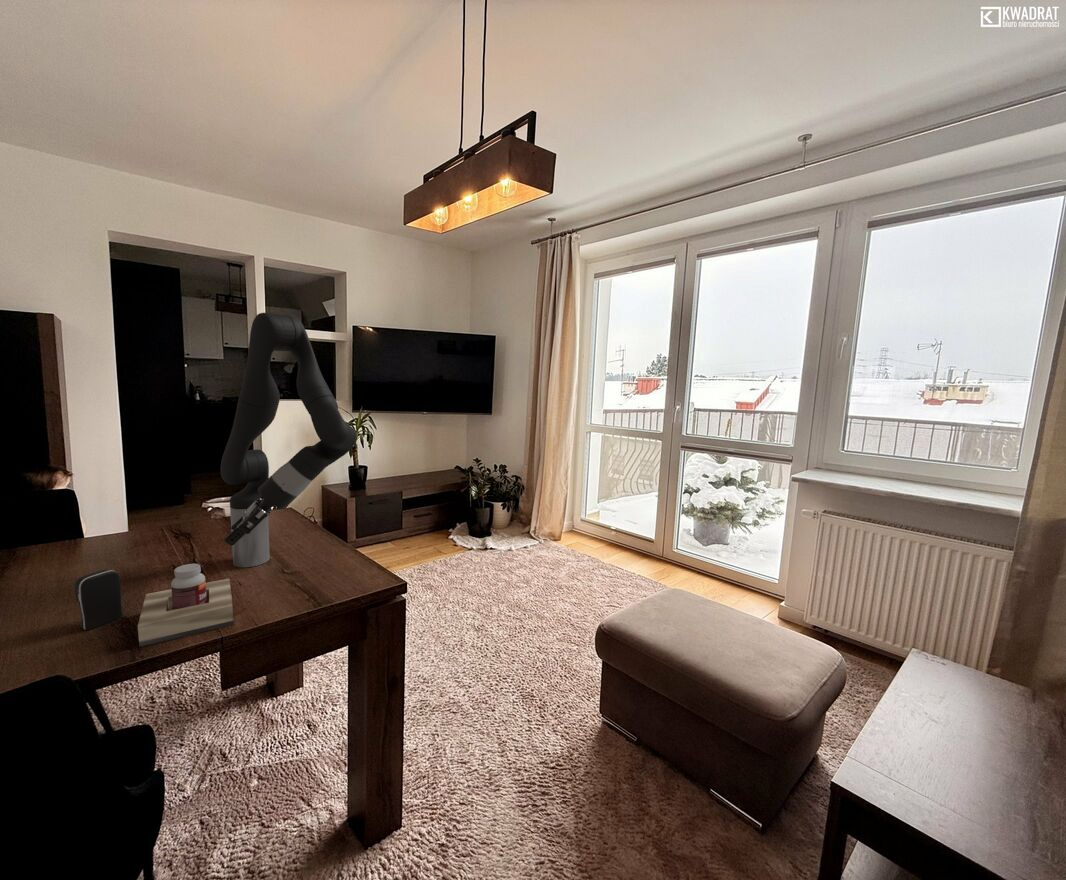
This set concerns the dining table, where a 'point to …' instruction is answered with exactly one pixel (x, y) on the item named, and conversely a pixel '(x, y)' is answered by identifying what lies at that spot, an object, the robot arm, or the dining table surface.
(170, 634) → the socket block
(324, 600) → the dining table surface
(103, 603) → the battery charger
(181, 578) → the pill bottle
